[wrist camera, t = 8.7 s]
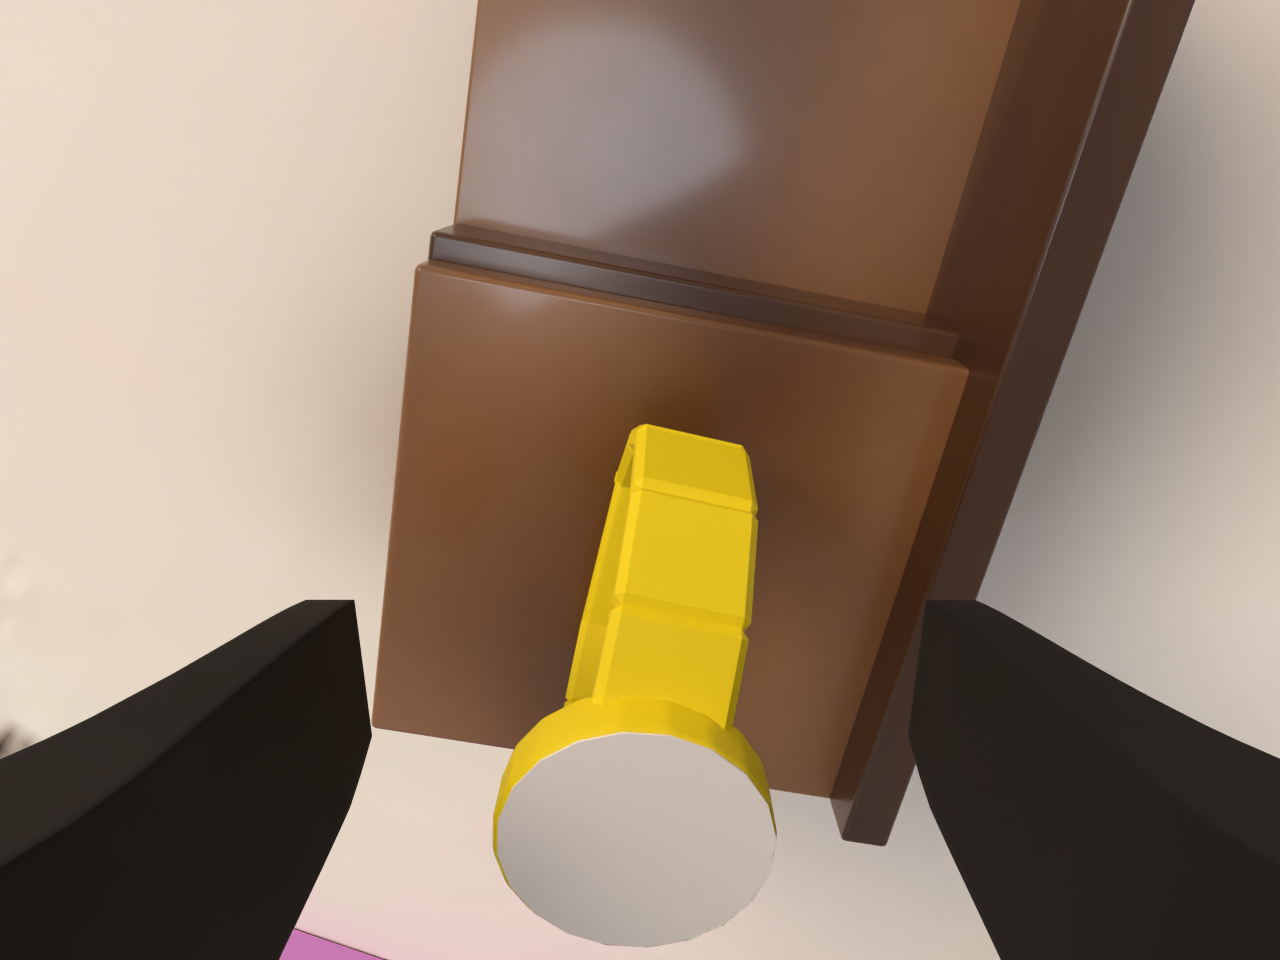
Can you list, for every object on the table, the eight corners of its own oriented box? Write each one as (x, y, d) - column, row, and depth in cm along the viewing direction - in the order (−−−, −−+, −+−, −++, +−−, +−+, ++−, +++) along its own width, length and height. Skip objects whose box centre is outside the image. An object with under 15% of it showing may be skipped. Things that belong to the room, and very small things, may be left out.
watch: (593, 363, 13) (557, 523, 7) (775, 405, 13) (876, 594, 7) (520, 700, 15) (445, 1032, 9) (678, 731, 15) (699, 1073, 9)
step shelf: (1045, -133, 15) (1318, -328, 9) (814, 645, 21) (886, 848, 15) (539, -250, 15) (467, -542, 9) (438, 582, 20) (351, 767, 14)
